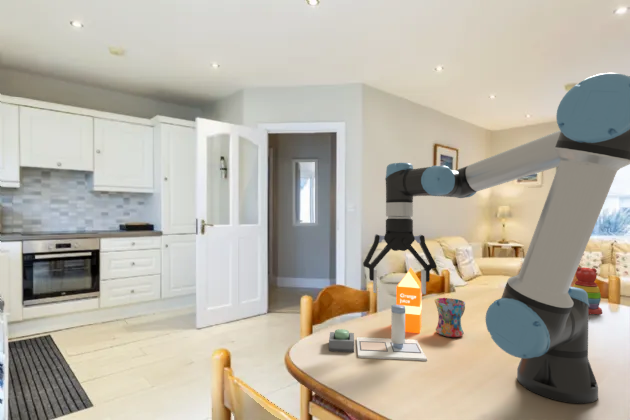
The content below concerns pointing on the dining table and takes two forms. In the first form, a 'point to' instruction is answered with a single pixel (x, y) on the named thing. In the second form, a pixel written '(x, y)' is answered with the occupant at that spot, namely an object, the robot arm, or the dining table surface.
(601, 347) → the dining table surface
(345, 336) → the button
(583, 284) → the stacking bear
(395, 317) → the cylinder
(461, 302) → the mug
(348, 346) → the button housing
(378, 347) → the sheet
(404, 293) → the orange juice
